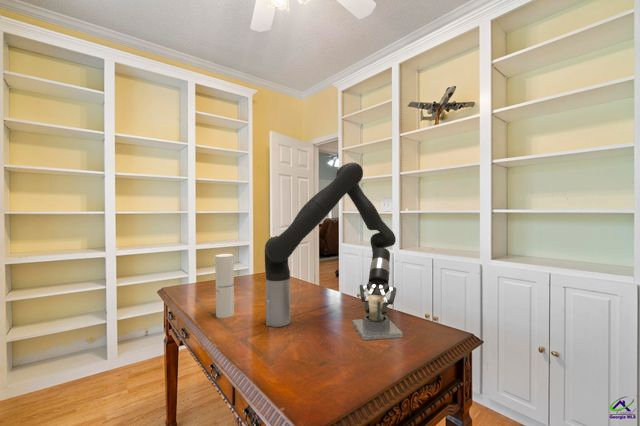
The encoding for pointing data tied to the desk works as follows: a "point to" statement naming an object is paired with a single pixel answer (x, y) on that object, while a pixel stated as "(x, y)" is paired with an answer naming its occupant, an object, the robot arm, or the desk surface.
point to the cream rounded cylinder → (375, 308)
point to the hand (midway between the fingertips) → (375, 312)
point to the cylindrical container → (224, 285)
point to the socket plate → (376, 328)
